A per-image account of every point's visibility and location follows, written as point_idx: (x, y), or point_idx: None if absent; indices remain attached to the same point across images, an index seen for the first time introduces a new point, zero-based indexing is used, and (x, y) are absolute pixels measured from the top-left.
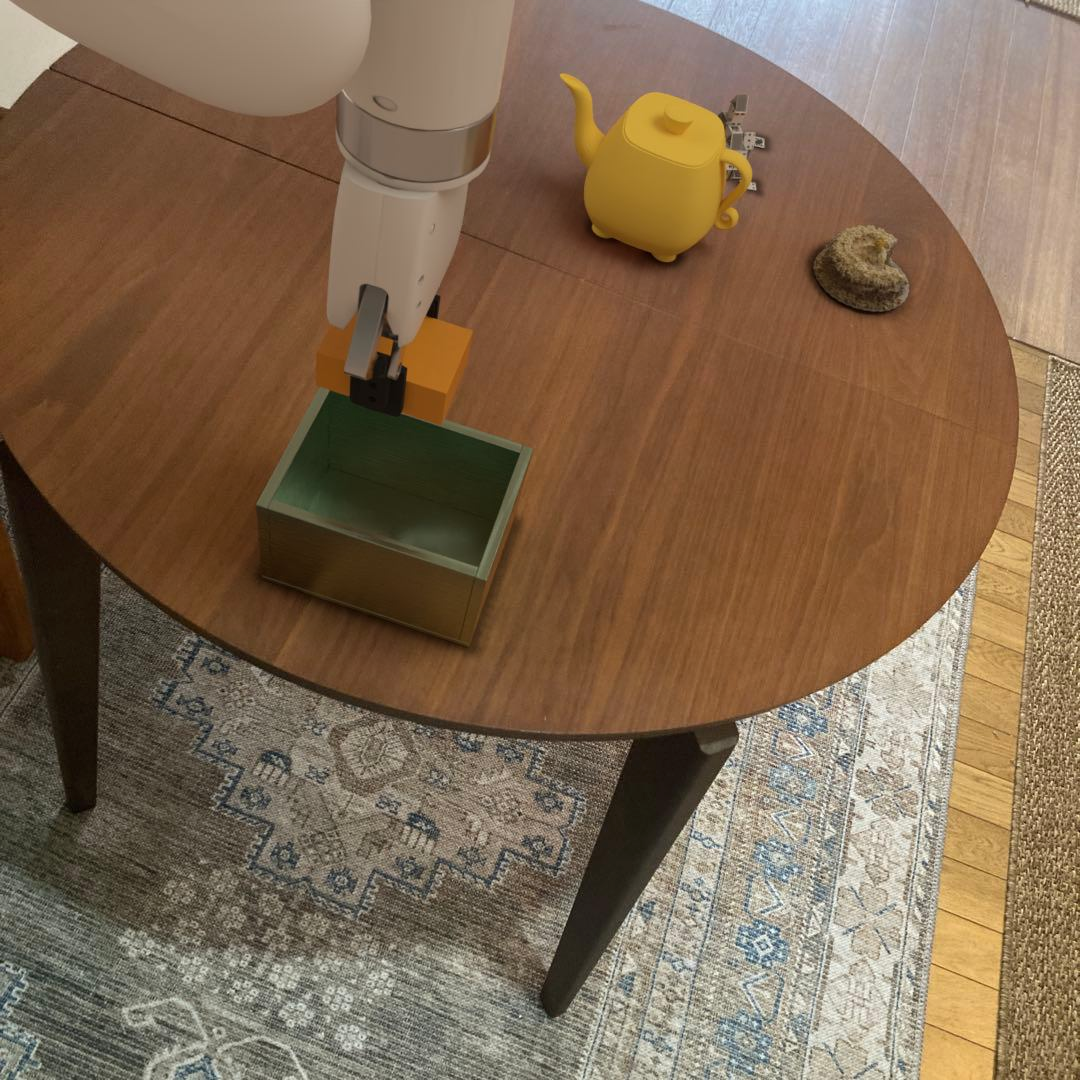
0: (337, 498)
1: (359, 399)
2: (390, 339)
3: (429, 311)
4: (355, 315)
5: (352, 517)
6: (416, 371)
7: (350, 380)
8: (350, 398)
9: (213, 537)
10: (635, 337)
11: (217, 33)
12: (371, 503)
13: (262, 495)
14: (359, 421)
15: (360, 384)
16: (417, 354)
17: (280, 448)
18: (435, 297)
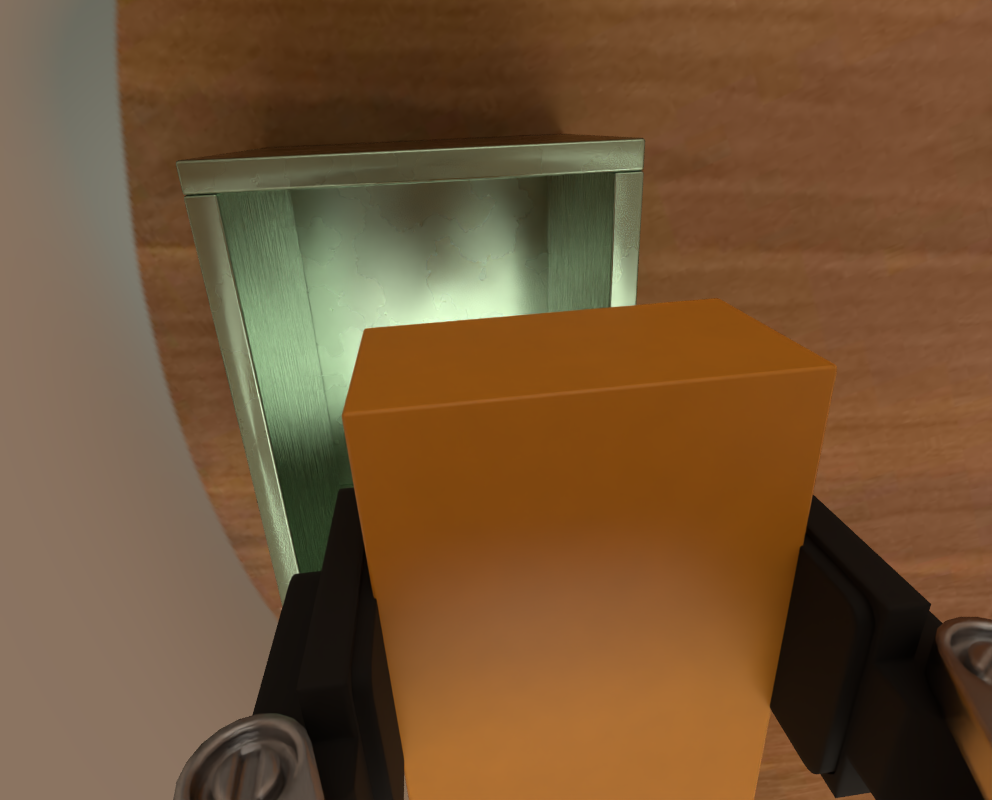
0: (485, 205)
1: (291, 584)
2: (590, 641)
3: (790, 720)
4: (675, 468)
5: (458, 248)
6: (468, 771)
7: (324, 559)
8: (338, 495)
9: (297, 3)
10: (969, 505)
11: None
12: (500, 267)
13: (210, 164)
14: (589, 244)
15: (271, 659)
16: (555, 743)
17: (559, 35)
18: (855, 785)
